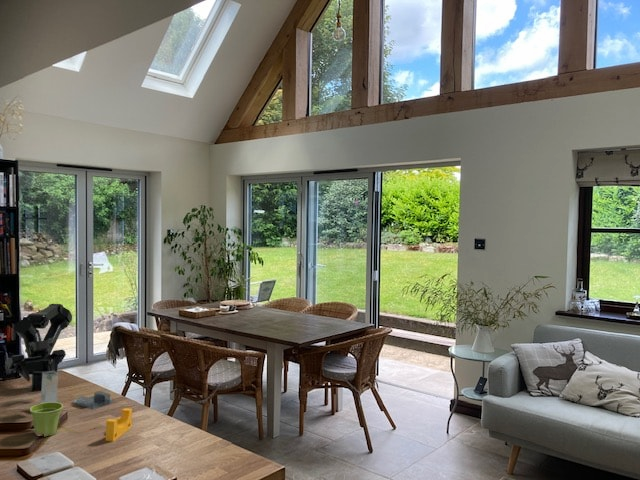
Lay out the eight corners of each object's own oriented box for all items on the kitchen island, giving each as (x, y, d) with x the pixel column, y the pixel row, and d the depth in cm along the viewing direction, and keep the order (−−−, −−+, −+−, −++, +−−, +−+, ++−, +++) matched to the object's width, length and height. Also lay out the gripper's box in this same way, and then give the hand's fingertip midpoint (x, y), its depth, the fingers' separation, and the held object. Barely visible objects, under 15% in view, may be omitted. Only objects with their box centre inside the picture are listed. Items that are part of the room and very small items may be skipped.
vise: (71, 405, 189) (71, 396, 189) (94, 398, 198) (94, 389, 198) (92, 412, 183) (93, 402, 183) (115, 404, 192) (115, 395, 192)
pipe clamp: (118, 426, 172) (119, 407, 172) (131, 427, 172) (132, 408, 172) (100, 440, 160) (101, 420, 160) (113, 441, 160) (114, 421, 160)
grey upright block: (40, 408, 182) (42, 372, 182) (52, 405, 185) (54, 370, 185) (47, 413, 177) (49, 376, 177) (59, 410, 180) (61, 374, 180)
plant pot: (52, 440, 158) (53, 413, 158) (22, 438, 158) (23, 411, 158) (67, 428, 168) (68, 403, 168) (39, 427, 168) (40, 401, 168)
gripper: (12, 334, 184) (21, 371, 177) (65, 329, 198) (75, 363, 191) (3, 350, 190) (12, 387, 183) (56, 344, 204) (65, 378, 197)
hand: (42, 378), depth 188 cm, fingers open, 9 cm apart
